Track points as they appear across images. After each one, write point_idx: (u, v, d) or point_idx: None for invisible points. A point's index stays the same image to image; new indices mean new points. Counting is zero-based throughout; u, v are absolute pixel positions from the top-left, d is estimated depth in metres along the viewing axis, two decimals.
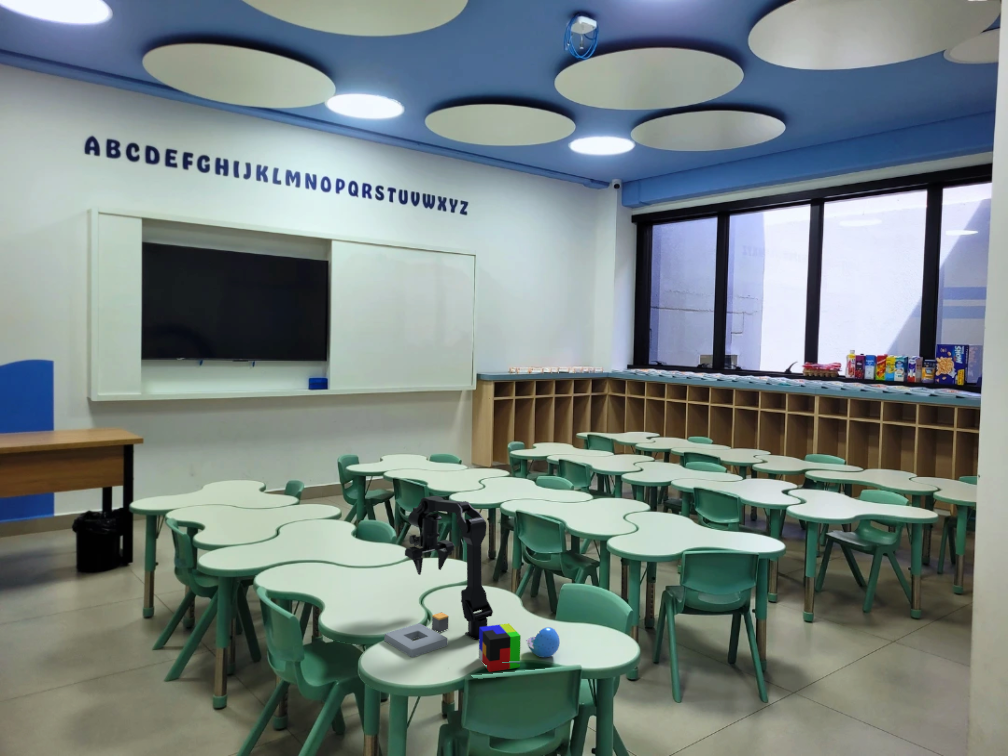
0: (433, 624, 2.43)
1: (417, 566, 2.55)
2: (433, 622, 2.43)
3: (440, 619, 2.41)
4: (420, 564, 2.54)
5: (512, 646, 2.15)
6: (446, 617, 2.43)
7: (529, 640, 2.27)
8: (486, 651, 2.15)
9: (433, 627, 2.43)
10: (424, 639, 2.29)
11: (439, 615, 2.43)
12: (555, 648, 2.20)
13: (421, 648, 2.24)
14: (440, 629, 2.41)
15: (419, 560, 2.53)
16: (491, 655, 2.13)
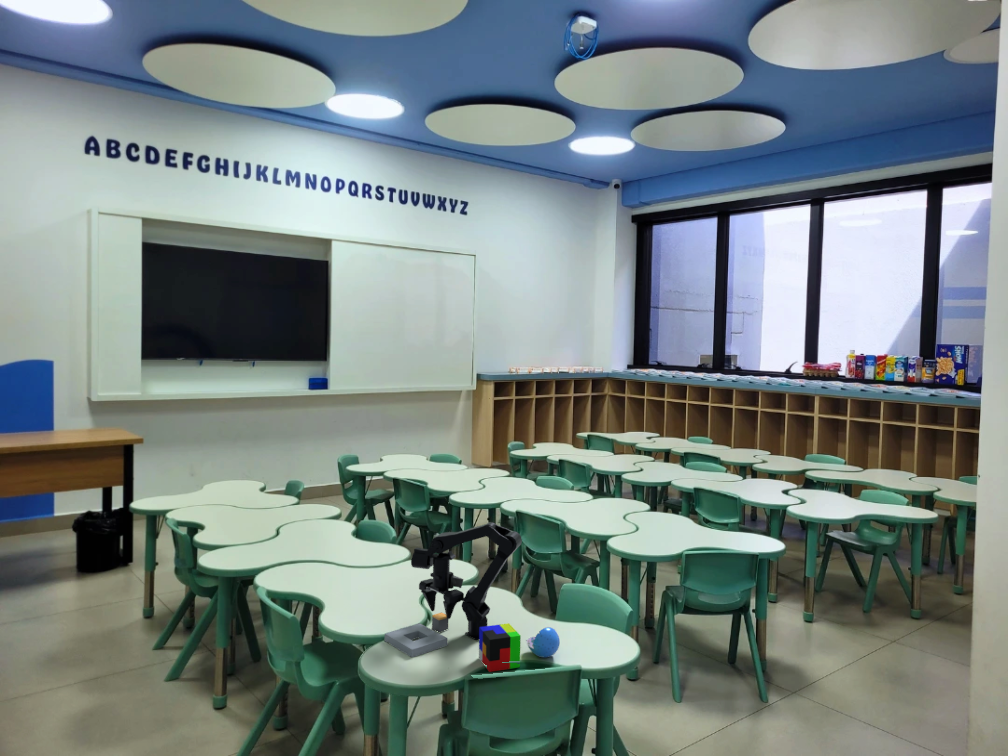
0: (433, 624, 2.43)
1: None
2: (433, 622, 2.43)
3: (440, 619, 2.41)
4: (426, 599, 2.46)
5: (512, 646, 2.15)
6: (446, 617, 2.43)
7: (529, 640, 2.27)
8: (486, 651, 2.15)
9: (433, 627, 2.43)
10: (424, 639, 2.29)
11: (439, 615, 2.43)
12: (555, 648, 2.20)
13: (421, 648, 2.24)
14: (440, 629, 2.41)
15: (423, 593, 2.46)
16: (491, 655, 2.13)
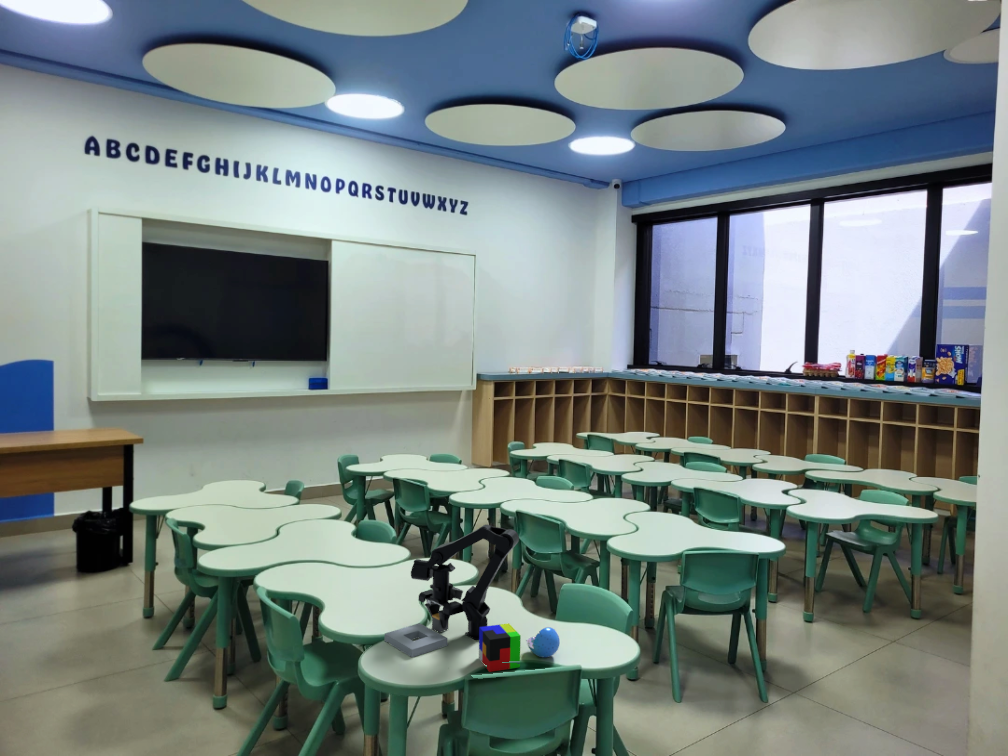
0: (433, 624, 2.43)
1: None
2: (433, 622, 2.43)
3: None
4: (429, 612, 2.44)
5: (512, 646, 2.15)
6: None
7: (529, 640, 2.27)
8: (486, 651, 2.15)
9: (433, 627, 2.43)
10: (424, 639, 2.29)
11: None
12: (555, 648, 2.20)
13: (421, 648, 2.24)
14: (440, 629, 2.41)
15: None
16: (491, 655, 2.13)
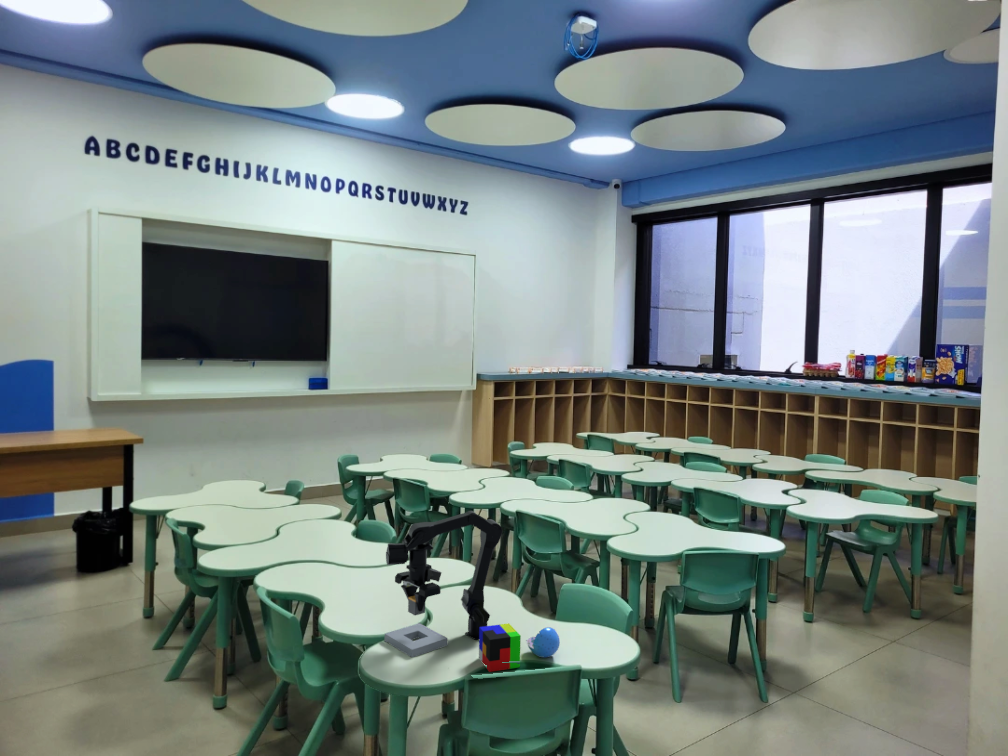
0: (409, 606, 2.31)
1: None
2: (409, 604, 2.31)
3: None
4: (406, 594, 2.33)
5: (512, 646, 2.15)
6: None
7: (529, 640, 2.27)
8: (486, 651, 2.15)
9: (409, 609, 2.31)
10: (424, 639, 2.29)
11: None
12: (555, 648, 2.20)
13: (421, 648, 2.24)
14: (416, 611, 2.30)
15: (403, 588, 2.33)
16: (491, 655, 2.13)
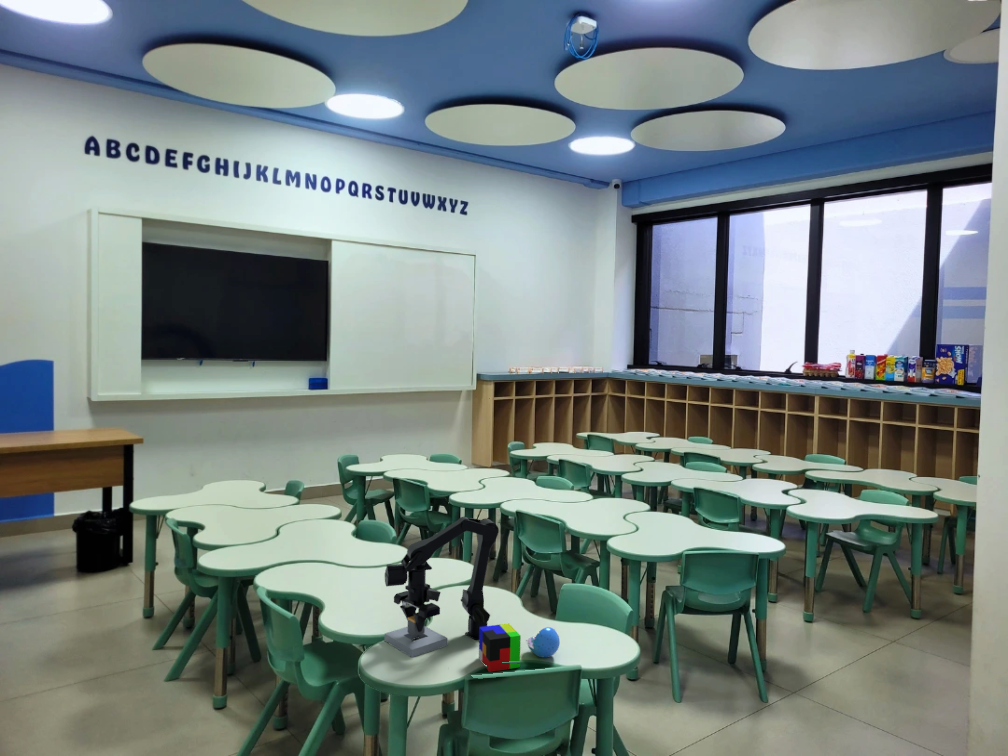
0: (409, 627, 2.31)
1: None
2: (409, 625, 2.31)
3: None
4: (405, 614, 2.32)
5: (512, 646, 2.15)
6: None
7: (529, 640, 2.27)
8: (486, 651, 2.15)
9: (409, 630, 2.31)
10: (424, 639, 2.29)
11: None
12: (555, 648, 2.20)
13: (421, 648, 2.24)
14: (416, 632, 2.29)
15: (402, 609, 2.33)
16: (491, 655, 2.13)
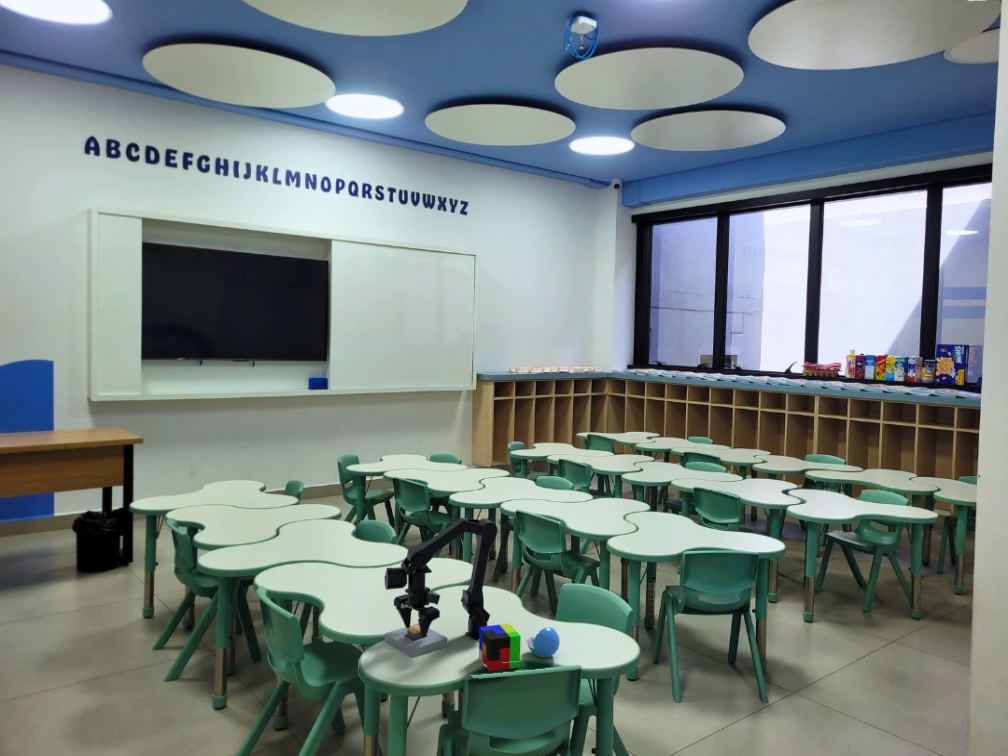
0: None
1: None
2: (408, 636, 2.31)
3: (415, 632, 2.29)
4: (401, 615, 2.34)
5: (512, 646, 2.15)
6: None
7: (529, 640, 2.27)
8: (486, 651, 2.15)
9: None
10: (424, 639, 2.29)
11: (414, 628, 2.32)
12: (555, 648, 2.20)
13: (421, 648, 2.24)
14: None
15: (398, 610, 2.34)
16: (491, 655, 2.13)
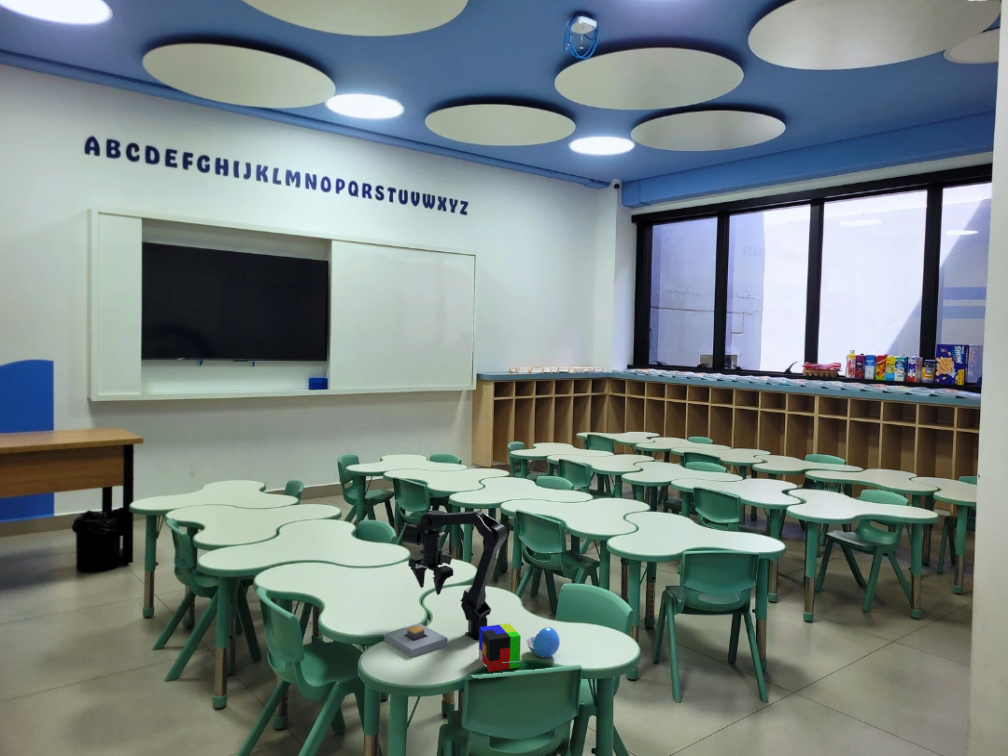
0: None
1: None
2: (408, 636, 2.31)
3: (415, 632, 2.29)
4: (415, 575, 2.49)
5: (512, 646, 2.15)
6: (422, 630, 2.31)
7: (529, 640, 2.27)
8: (486, 651, 2.15)
9: None
10: (424, 639, 2.29)
11: (414, 628, 2.32)
12: (555, 648, 2.20)
13: (421, 648, 2.24)
14: None
15: (412, 570, 2.50)
16: (491, 655, 2.13)
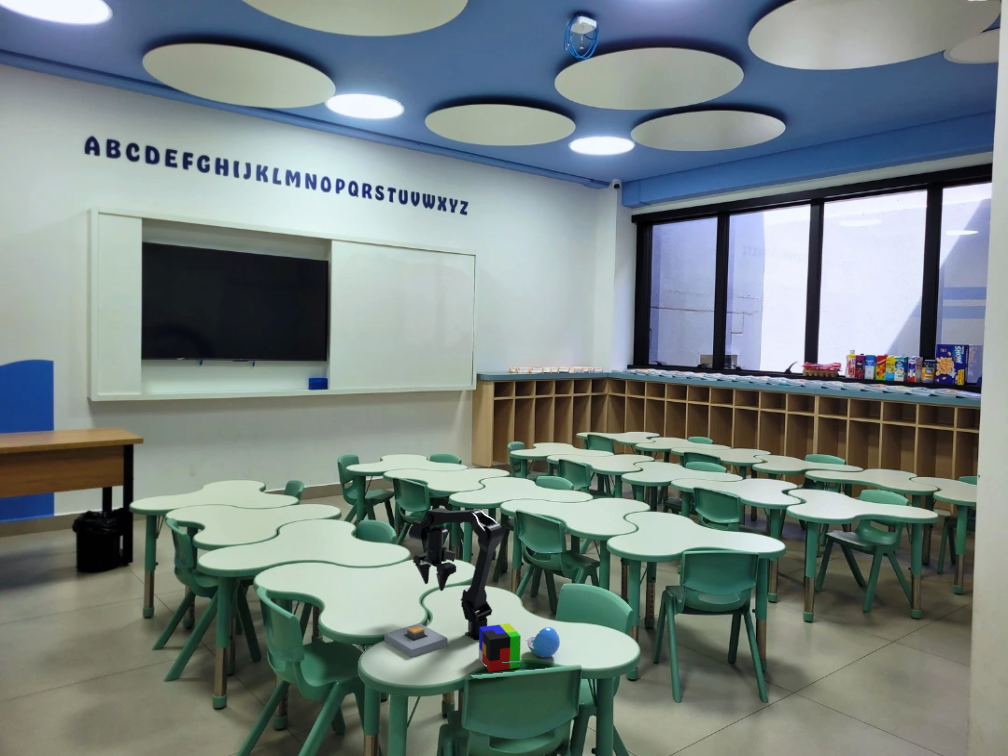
0: None
1: None
2: (408, 636, 2.31)
3: (415, 632, 2.29)
4: (420, 572, 2.53)
5: (512, 646, 2.15)
6: (422, 630, 2.31)
7: (529, 640, 2.27)
8: (486, 651, 2.15)
9: None
10: (424, 639, 2.29)
11: (414, 628, 2.32)
12: (555, 648, 2.20)
13: (421, 648, 2.24)
14: None
15: (417, 566, 2.54)
16: (491, 655, 2.13)
